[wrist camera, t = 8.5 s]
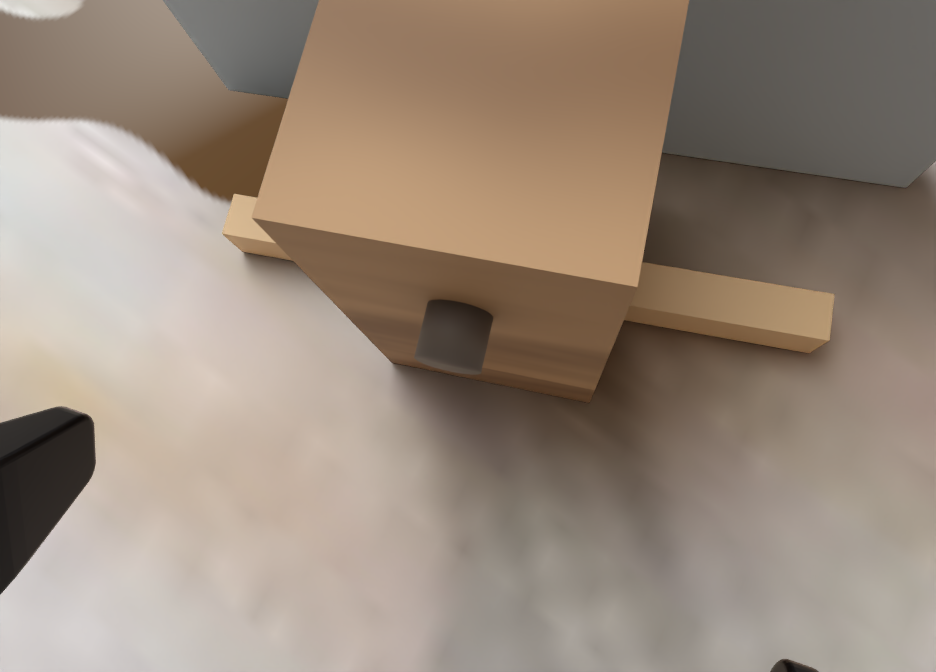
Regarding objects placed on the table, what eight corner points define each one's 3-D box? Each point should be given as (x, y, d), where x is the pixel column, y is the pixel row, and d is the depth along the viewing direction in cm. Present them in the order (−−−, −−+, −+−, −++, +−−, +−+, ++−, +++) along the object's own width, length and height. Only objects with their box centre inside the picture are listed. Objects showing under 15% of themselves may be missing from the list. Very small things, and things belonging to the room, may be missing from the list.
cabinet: (582, 440, 19) (623, 359, 9) (382, 397, 20) (231, 283, 10) (628, 197, 20) (704, -89, 11) (440, 166, 21) (357, -124, 12)
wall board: (889, 367, 19) (1193, 236, 10) (180, 240, 22) (-65, 53, 13) (909, 148, 20) (1190, -135, 11) (239, 56, 23) (54, -224, 14)
